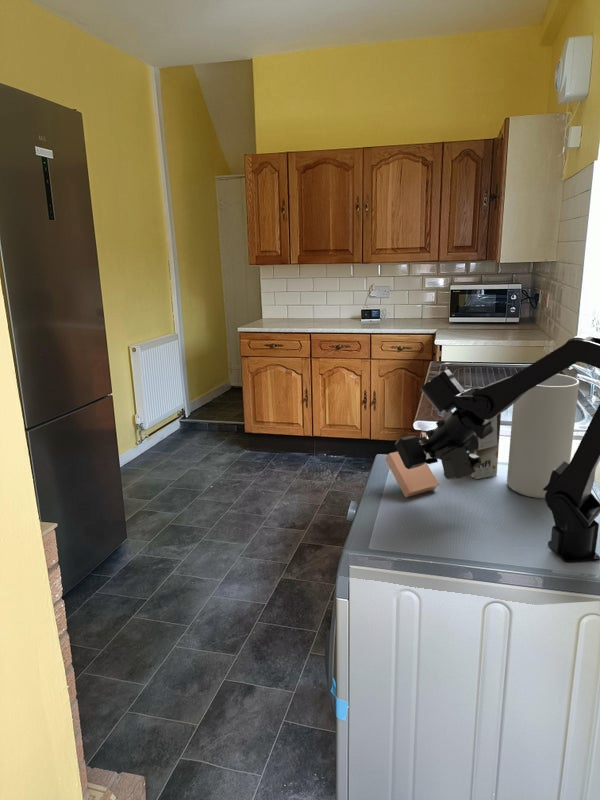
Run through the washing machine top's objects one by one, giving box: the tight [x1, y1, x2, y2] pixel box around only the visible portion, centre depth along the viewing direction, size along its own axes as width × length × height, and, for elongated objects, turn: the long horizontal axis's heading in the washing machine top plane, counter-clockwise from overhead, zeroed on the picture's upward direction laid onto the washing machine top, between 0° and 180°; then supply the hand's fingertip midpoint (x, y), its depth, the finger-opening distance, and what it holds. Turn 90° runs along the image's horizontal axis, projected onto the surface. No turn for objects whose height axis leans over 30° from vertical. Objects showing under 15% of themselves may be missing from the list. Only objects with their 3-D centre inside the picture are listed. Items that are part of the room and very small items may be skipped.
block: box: [384, 451, 439, 499], centre depth 128 cm, size 3×8×10 cm
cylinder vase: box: [506, 373, 580, 499], centre depth 125 cm, size 12×12×25 cm
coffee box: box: [469, 413, 502, 480], centre depth 136 cm, size 9×6×16 cm
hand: (418, 462), depth 125 cm, fingers closed
